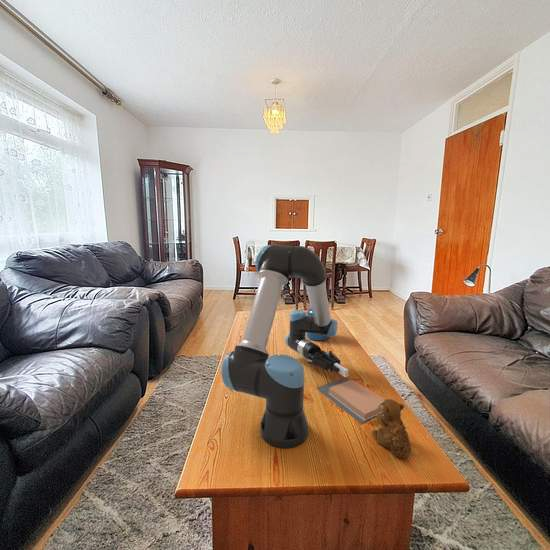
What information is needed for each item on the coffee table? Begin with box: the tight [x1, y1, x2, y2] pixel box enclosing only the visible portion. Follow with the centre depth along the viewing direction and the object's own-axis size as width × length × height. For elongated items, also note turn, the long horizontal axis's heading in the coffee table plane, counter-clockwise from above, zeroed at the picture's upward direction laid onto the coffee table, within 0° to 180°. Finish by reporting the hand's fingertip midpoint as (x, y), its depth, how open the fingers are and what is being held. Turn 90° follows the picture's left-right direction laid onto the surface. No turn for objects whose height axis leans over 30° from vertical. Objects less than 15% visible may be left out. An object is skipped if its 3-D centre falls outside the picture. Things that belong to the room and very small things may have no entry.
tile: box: [329, 379, 385, 421], centre depth 106 cm, size 2×12×18 cm
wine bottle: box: [305, 307, 330, 342], centre depth 166 cm, size 14×13×30 cm
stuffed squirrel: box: [371, 398, 412, 458], centre depth 85 cm, size 10×14×13 cm
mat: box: [315, 377, 384, 425], centre depth 109 cm, size 24×16×1 cm, turn 30°
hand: (346, 373), depth 110 cm, fingers closed
